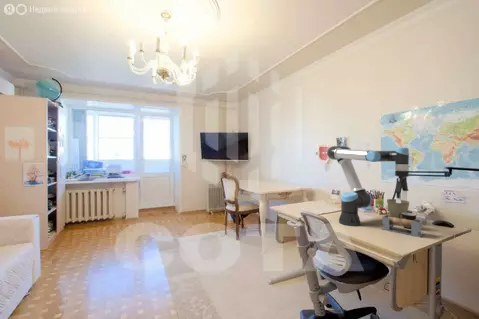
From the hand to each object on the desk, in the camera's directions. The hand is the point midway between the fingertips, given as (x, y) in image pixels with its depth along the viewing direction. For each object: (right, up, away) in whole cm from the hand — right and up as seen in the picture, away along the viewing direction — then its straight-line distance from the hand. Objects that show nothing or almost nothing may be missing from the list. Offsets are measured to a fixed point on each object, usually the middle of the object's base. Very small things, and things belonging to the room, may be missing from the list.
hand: (401, 201), depth 159 cm
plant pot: (+16, -20, +27) cm, 38 cm away
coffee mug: (+12, -21, +10) cm, 26 cm away
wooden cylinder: (+1, -17, 0) cm, 17 cm away
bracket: (0, -21, 0) cm, 21 cm away
